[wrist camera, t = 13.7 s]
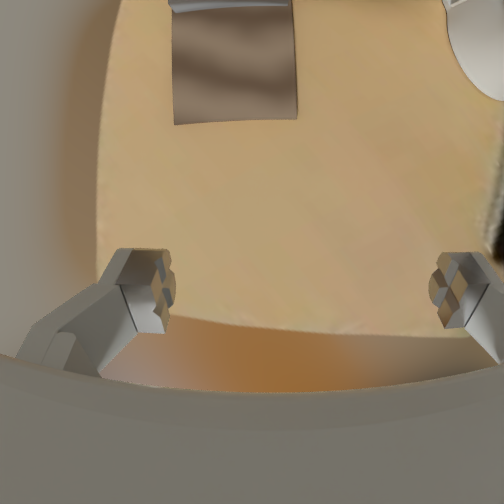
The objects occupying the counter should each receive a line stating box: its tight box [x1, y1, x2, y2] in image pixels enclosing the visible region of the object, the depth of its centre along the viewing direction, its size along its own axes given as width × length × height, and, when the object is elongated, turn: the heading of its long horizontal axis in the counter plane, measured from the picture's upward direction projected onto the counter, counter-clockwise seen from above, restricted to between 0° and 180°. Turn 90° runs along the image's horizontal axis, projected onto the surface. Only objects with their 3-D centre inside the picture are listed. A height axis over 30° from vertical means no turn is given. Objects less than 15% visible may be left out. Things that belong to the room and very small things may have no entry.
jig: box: [168, 0, 297, 125], centre depth 23 cm, size 24×12×4 cm, turn 2°
